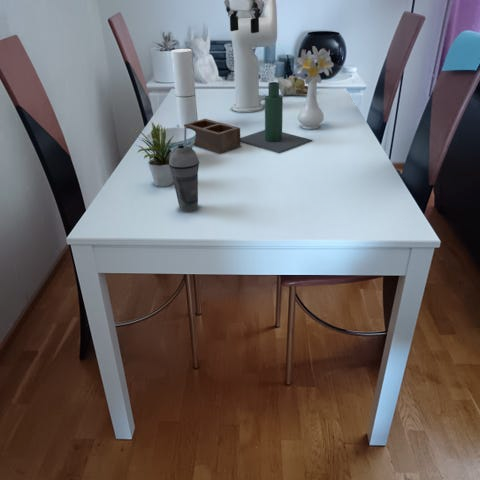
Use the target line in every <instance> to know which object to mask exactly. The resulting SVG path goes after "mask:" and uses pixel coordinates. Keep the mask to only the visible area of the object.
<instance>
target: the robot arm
mask: <svg viewBox="0 0 480 480" xmlns="http://www.w3.org/2000/svg"><path fill="white" fill-rule="evenodd" d="M223 3H224V7H225V11H226V13H227V16H228V18H229V31H230V39H231V45H232V52H233V67H234V94H235V95H234V96H235V103H234V104H232V105H231V110H232V111H234V112H238V113H254V112H259V111H261V110H263V109H264V105H263V103H262V101H265V96H267V95H266V94H263V95H261V94H260V72H259V70H260V66H259V62H260V61H259V58H258V56H257V55H256V53H255V52H254V51H253V48H269V47H273V46H274V45H275V44H276V43H277V40H278V11H277V9H278V7H277V0H224V1H223Z"/></svg>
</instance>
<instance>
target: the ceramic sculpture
mask: <svg viewBox="0 0 480 480" xmlns="http://www.w3.org/2000/svg"><path fill="white" fill-rule="evenodd" d="M277 82H278V83H279V93H280V95H281V96H285V95H287V94H289V95H292V96H307V93H308V85H306V83H305V80H304V79H303V78H302V77H301V76H297V75H296V73H293V74H291V75H289V77H287V78H283V77H280V76H278V77H277Z"/></svg>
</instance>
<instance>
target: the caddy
mask: <svg viewBox="0 0 480 480" xmlns="http://www.w3.org/2000/svg"><path fill="white" fill-rule="evenodd" d="M184 126H186V128H187V129H191V130H193V131H195V133H196V137H195V143H194V146H195V147H198V148H200V149H204V150H207V151H211V152H213V153H216V154H222V153H226V152H228V151H232V150H234V149H237V148H240V147H242V144H241V143H242V142H241V140H240V138H241V127H238V126H235V125H231V124H227V123H223V122H220V121H217V120H212V119H208V118H202V119H199V120H198V121H195V122H191V123H188V124H184ZM194 146H193V147H194Z"/></svg>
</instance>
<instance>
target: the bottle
mask: <svg viewBox="0 0 480 480" xmlns="http://www.w3.org/2000/svg"><path fill="white" fill-rule="evenodd" d="M267 86H268V87H267V88H268V89H267V90H268V91H267V93H268V94H267V95H266V96H265V100H264V130H265V141H267V142H279V141H281V140H282V132H283V112H284V111H283V109H284V106H283V105H284V104H283V101H284V98H283V97H284V95H282V94H280V89H279V83H278V81H271V82H268V85H267Z"/></svg>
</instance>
